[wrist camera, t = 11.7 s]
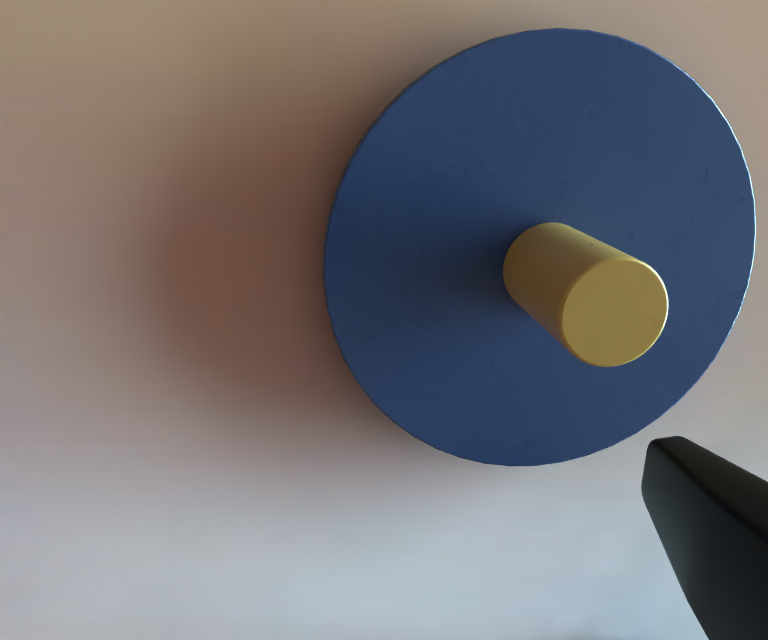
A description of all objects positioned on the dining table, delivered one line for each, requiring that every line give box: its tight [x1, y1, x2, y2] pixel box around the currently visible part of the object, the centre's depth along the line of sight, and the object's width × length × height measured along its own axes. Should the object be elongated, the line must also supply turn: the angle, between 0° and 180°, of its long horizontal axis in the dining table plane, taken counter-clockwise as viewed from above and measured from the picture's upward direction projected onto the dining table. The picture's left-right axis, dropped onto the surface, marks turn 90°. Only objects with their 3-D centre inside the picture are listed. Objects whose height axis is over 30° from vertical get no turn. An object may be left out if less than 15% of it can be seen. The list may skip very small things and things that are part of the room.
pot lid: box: [323, 28, 756, 466], centre depth 19 cm, size 13×13×6 cm
